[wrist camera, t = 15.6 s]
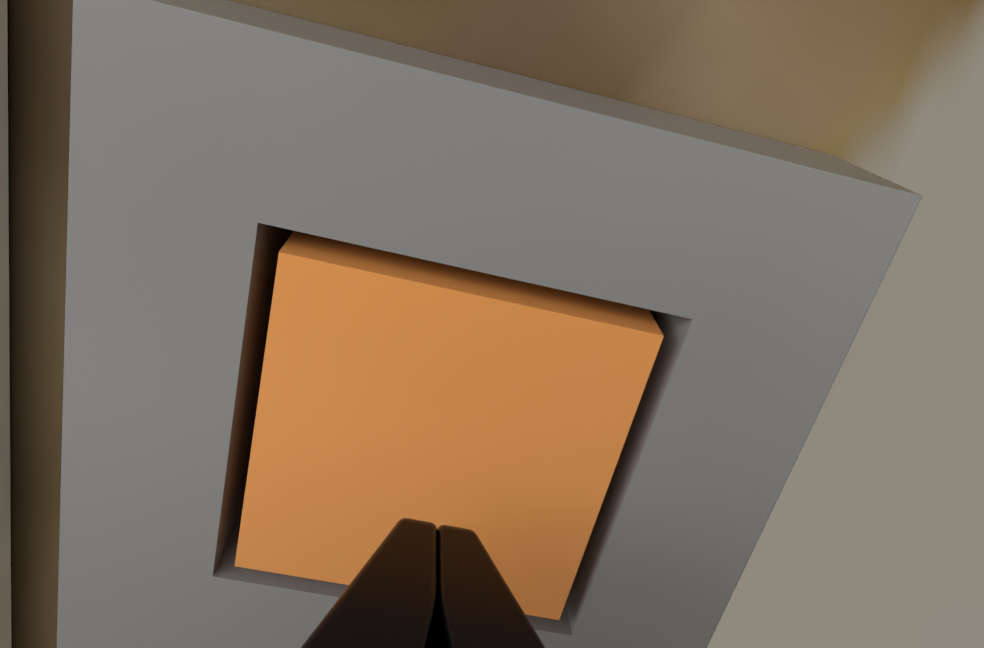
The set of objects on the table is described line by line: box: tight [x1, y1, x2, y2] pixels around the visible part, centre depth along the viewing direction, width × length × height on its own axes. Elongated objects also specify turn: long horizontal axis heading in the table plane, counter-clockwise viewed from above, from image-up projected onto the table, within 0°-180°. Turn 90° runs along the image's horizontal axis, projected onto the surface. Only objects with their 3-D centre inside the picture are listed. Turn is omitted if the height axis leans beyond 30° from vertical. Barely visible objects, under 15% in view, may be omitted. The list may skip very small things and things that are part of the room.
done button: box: [235, 231, 664, 620], centre depth 12 cm, size 5×5×2 cm
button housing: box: [57, 0, 922, 648], centre depth 12 cm, size 10×10×2 cm
